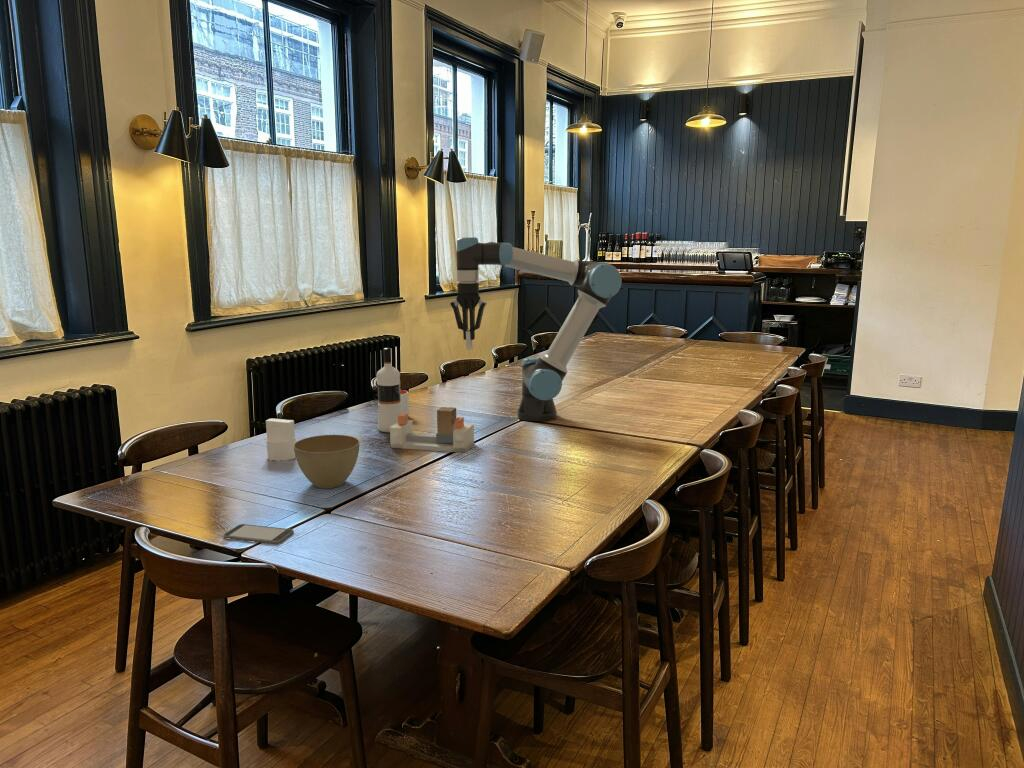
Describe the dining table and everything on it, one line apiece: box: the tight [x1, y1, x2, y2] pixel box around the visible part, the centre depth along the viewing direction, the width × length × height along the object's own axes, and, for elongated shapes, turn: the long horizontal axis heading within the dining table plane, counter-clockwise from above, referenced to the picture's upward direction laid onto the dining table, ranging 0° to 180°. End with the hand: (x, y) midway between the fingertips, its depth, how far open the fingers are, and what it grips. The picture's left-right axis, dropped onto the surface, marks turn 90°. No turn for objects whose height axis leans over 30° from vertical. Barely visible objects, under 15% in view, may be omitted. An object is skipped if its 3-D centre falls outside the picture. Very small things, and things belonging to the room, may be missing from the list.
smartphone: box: [222, 523, 295, 546], centre depth 174 cm, size 7×1×15 cm
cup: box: [400, 389, 410, 417], centre depth 283 cm, size 10×10×10 cm
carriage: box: [435, 406, 457, 443], centre depth 243 cm, size 6×5×11 cm
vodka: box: [376, 347, 401, 434], centre depth 263 cm, size 9×9×30 cm
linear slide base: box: [389, 416, 475, 453], centre depth 245 cm, size 26×10×10 cm, turn 76°
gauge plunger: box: [398, 413, 409, 425], centre depth 246 cm, size 2×4×3 cm, turn 166°
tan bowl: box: [294, 434, 361, 489], centre depth 208 cm, size 18×18×12 cm
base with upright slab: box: [265, 418, 297, 462], centre depth 234 cm, size 9×9×12 cm
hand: (469, 348), depth 261 cm, fingers closed
